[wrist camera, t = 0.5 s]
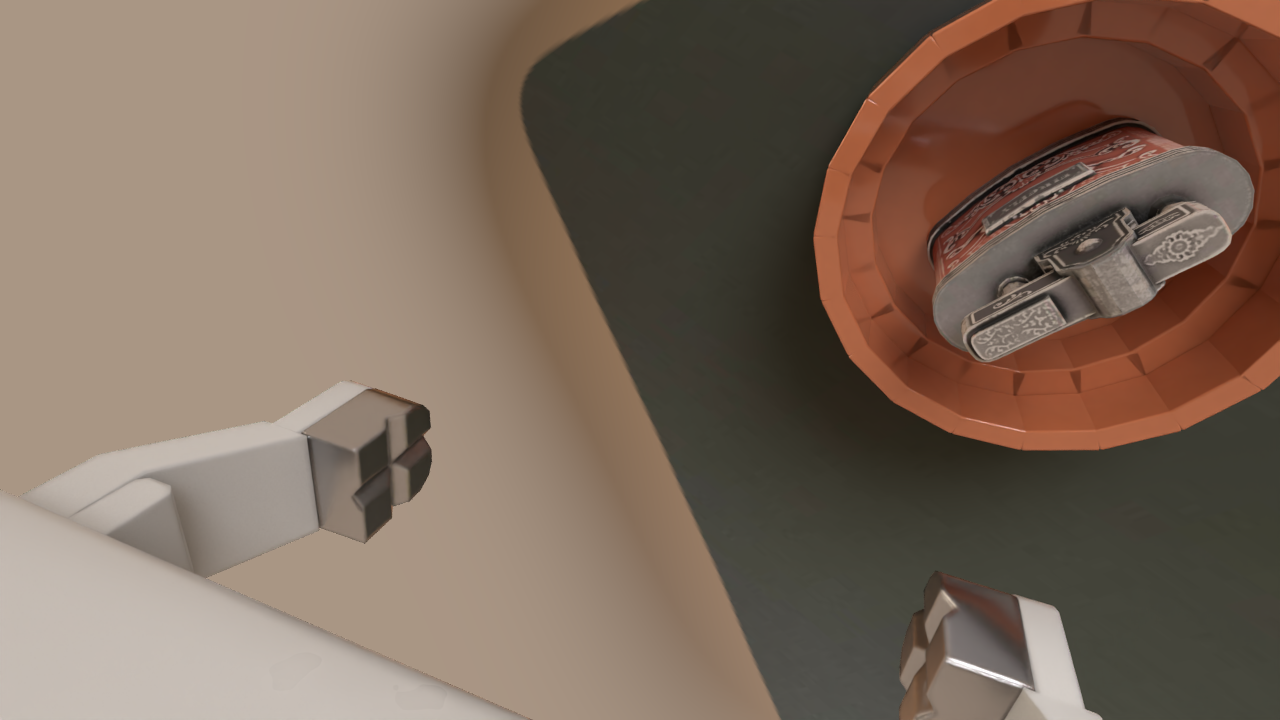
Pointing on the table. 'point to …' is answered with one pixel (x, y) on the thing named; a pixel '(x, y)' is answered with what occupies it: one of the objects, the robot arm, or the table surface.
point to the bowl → (1009, 132)
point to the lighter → (1080, 234)
